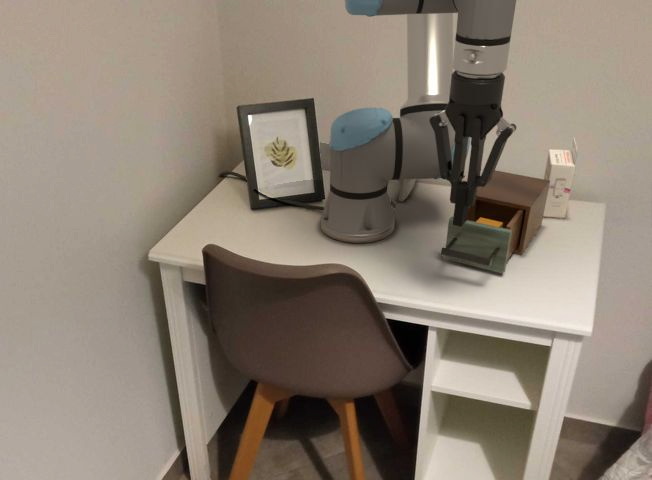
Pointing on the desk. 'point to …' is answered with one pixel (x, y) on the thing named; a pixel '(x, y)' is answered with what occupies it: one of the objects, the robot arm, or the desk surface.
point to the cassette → (405, 188)
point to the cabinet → (518, 200)
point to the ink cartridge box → (559, 180)
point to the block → (490, 222)
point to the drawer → (485, 236)
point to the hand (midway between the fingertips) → (459, 222)
